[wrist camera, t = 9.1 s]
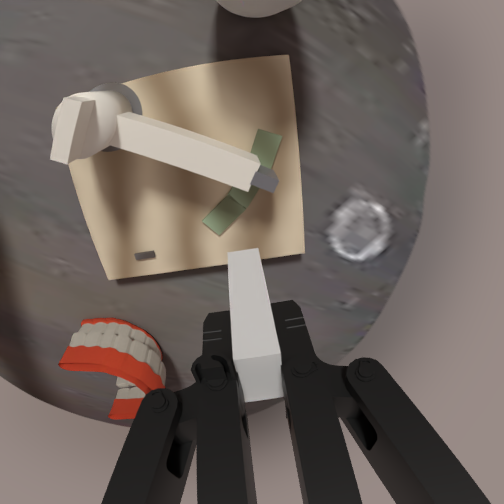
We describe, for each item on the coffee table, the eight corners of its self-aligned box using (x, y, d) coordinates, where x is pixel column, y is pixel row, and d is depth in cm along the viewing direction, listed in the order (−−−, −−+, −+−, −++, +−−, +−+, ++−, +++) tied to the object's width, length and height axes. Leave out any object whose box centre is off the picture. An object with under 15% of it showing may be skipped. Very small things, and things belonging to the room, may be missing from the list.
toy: (184, 369, 39) (180, 418, 32) (122, 375, 39) (111, 419, 33) (145, 302, 33) (130, 355, 26) (77, 315, 33) (55, 362, 26)
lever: (77, 137, 21) (31, 158, 15) (91, 85, 19) (45, 89, 13) (258, 197, 25) (268, 236, 19) (281, 147, 23) (301, 171, 17)
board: (113, 271, 30) (107, 281, 28) (63, 101, 21) (53, 103, 19) (301, 244, 30) (305, 254, 28) (284, 51, 21) (288, 48, 19)
